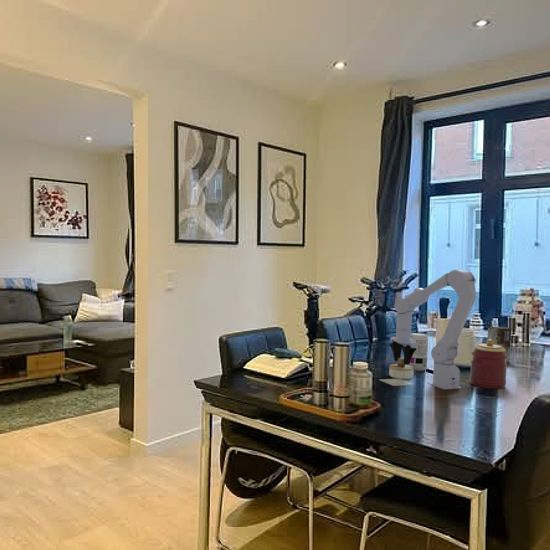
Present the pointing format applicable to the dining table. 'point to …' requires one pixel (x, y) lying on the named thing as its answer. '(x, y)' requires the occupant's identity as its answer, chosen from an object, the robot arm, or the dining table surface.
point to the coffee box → (501, 338)
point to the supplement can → (419, 352)
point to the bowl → (401, 374)
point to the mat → (396, 382)
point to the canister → (488, 366)
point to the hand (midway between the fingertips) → (401, 362)
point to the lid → (400, 366)
